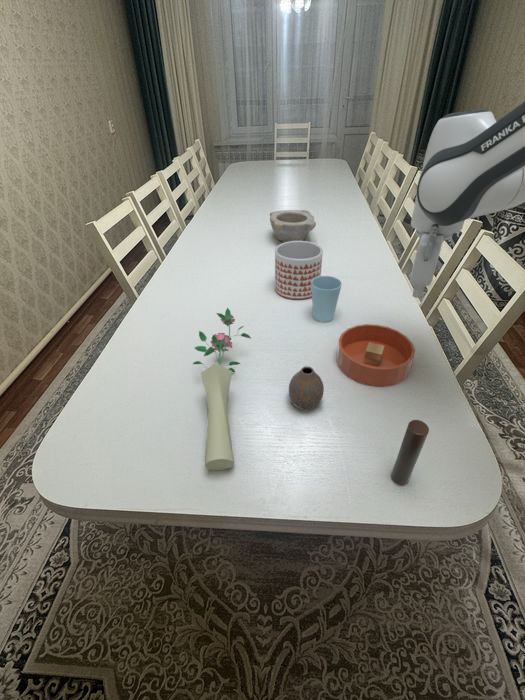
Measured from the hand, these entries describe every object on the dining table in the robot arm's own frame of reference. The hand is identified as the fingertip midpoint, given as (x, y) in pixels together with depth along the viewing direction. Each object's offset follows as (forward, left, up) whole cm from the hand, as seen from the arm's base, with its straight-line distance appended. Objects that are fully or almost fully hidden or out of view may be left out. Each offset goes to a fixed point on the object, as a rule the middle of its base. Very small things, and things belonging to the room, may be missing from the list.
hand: (420, 285), depth 73 cm
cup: (+22, -8, -18) cm, 30 cm away
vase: (+16, +24, -18) cm, 34 cm away
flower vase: (+32, +30, -18) cm, 47 cm away
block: (+6, +6, -18) cm, 19 cm away
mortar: (+50, -57, -18) cm, 78 cm away
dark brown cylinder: (-4, +34, -18) cm, 38 cm away
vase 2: (+34, -20, -18) cm, 43 cm away
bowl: (+6, +6, -18) cm, 20 cm away
